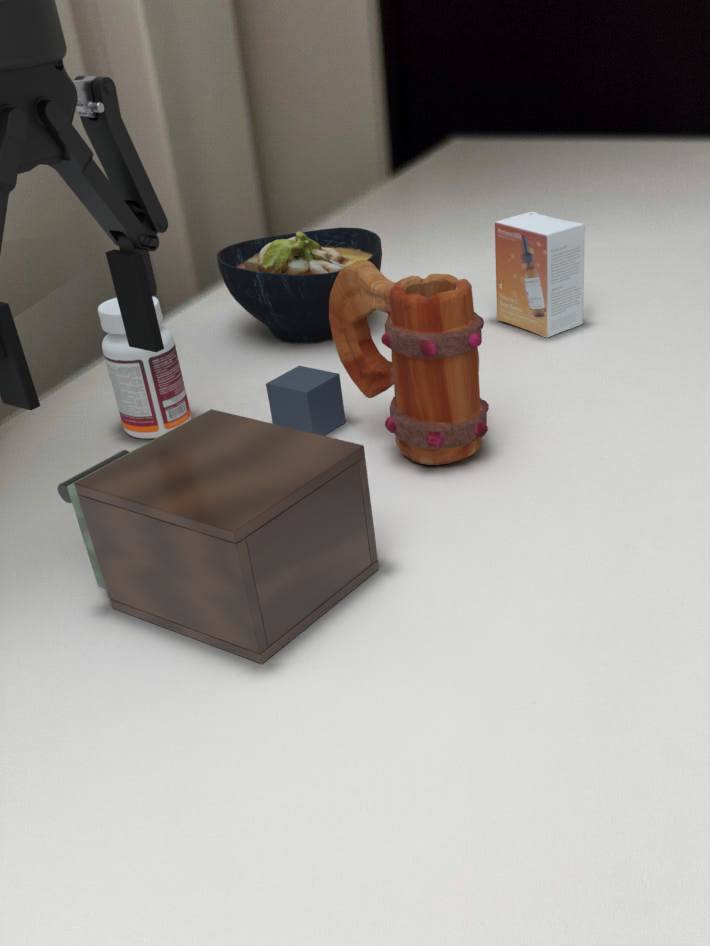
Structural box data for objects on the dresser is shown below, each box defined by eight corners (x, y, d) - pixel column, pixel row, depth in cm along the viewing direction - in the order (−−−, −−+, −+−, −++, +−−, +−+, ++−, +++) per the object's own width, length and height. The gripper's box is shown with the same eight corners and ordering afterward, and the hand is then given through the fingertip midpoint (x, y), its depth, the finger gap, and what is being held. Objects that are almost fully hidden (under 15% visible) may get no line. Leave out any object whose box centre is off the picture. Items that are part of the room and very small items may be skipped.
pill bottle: (188, 407, 100) (161, 287, 93) (196, 433, 95) (168, 308, 88) (121, 419, 98) (89, 298, 91) (126, 446, 93) (93, 320, 87)
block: (274, 432, 94) (265, 383, 92) (306, 413, 97) (299, 365, 95) (314, 442, 92) (306, 392, 89) (346, 422, 95) (339, 373, 93)
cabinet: (111, 608, 72) (73, 482, 67) (236, 525, 81) (211, 408, 75) (262, 664, 66) (233, 531, 60) (379, 568, 75) (364, 445, 69)
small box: (496, 321, 115) (492, 221, 109) (533, 308, 118) (531, 209, 111) (547, 338, 110) (546, 234, 103) (585, 324, 113) (586, 222, 106)
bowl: (417, 333, 113) (409, 237, 107) (268, 372, 106) (251, 271, 100) (347, 294, 125) (336, 206, 119) (210, 326, 118) (191, 234, 112)
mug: (514, 445, 90) (508, 266, 81) (458, 485, 84) (446, 297, 75) (380, 412, 97) (362, 243, 88) (322, 446, 91) (295, 271, 83)
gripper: (-180, 8, 48) (-20, 453, 61) (176, -36, 63) (243, 328, 76) (-268, 7, 51) (-99, 430, 64) (91, -34, 67) (169, 314, 80)
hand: (87, 374), depth 70 cm, fingers open, 10 cm apart
